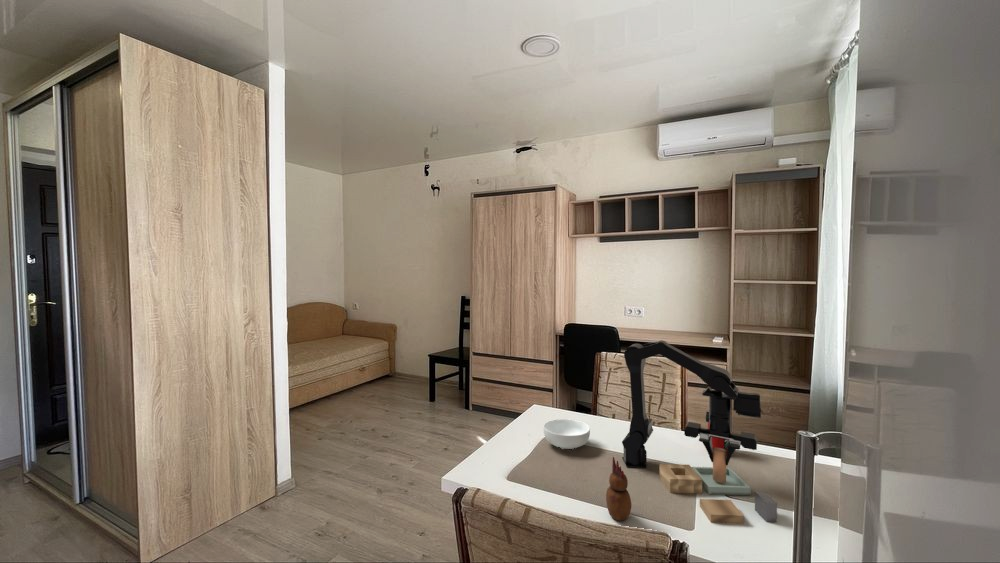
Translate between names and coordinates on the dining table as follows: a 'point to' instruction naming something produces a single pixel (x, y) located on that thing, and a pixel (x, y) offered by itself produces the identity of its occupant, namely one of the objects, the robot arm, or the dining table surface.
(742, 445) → the robot arm
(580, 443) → the cereal bowl
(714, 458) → the dowel
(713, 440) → the beverage can
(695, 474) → the socket block
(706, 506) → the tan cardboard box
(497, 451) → the dining table surface
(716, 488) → the tray
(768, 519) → the grey rectangular block
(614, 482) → the wooden figurine
